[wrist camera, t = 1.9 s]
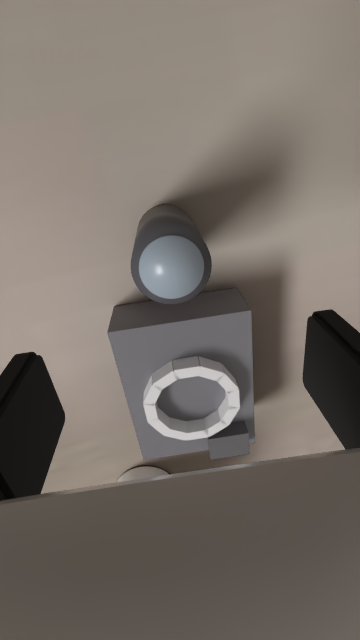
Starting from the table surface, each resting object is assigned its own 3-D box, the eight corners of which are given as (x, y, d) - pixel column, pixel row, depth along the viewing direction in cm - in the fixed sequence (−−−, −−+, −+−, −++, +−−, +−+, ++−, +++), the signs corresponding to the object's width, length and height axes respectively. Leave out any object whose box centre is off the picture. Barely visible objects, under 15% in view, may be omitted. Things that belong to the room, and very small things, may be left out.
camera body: (114, 306, 30) (104, 343, 24) (236, 287, 30) (257, 319, 24) (144, 424, 37) (143, 473, 32) (242, 409, 38) (259, 455, 32)
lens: (131, 209, 26) (122, 234, 18) (190, 200, 26) (208, 220, 18) (143, 266, 28) (139, 311, 20) (197, 258, 28) (215, 299, 20)
